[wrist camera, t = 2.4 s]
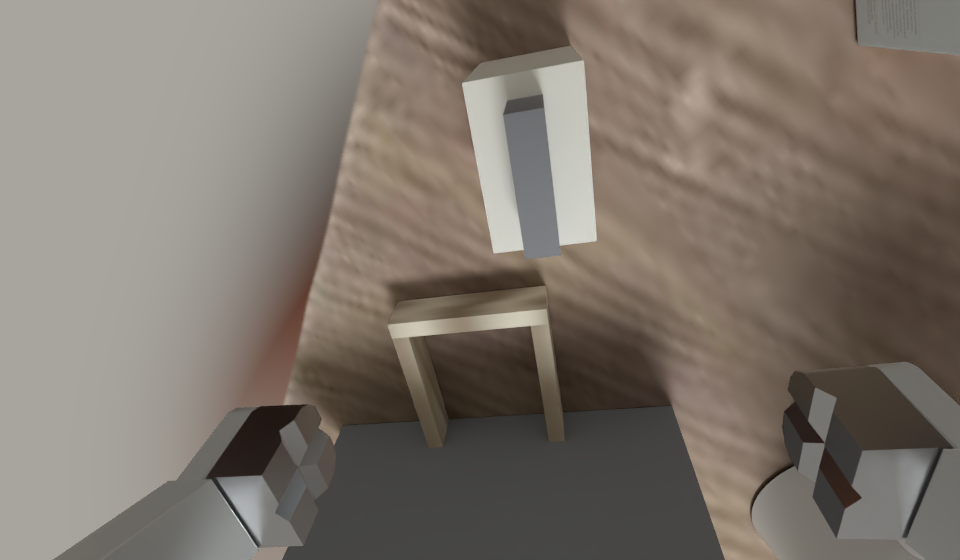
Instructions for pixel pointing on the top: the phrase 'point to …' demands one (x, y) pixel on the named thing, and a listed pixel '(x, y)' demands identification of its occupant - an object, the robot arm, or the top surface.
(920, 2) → the small box
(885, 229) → the top surface
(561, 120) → the cream block with tab
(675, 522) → the wall board
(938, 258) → the top surface
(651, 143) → the top surface
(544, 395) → the frame
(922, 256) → the top surface
